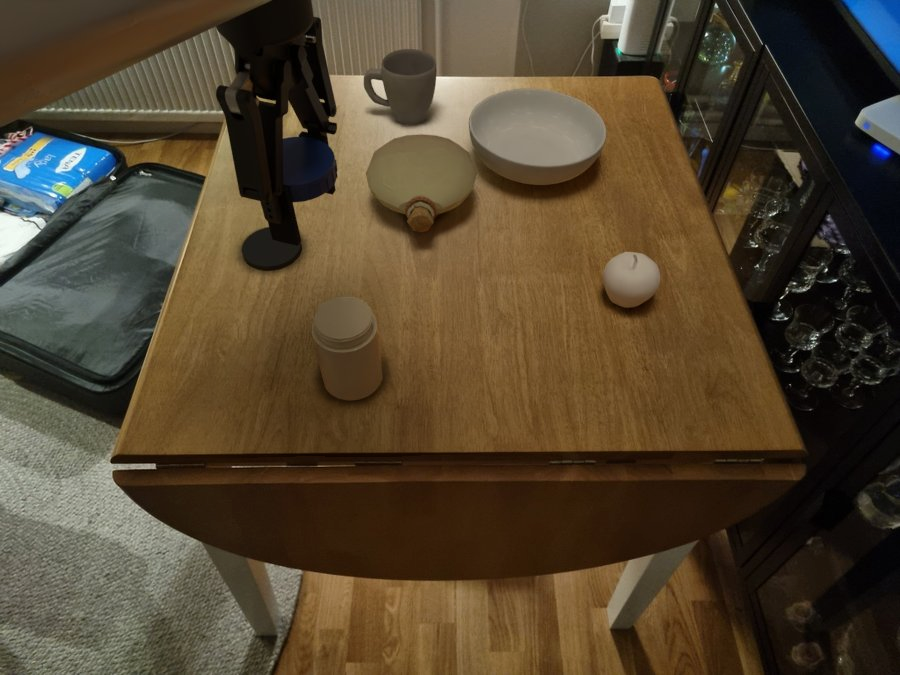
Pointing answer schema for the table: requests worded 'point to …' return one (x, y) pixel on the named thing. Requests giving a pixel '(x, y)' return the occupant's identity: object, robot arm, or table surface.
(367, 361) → the jar
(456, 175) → the flask
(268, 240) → the coaster
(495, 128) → the serving bowl
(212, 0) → the robot arm
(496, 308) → the table surface
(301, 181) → the jar lid
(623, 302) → the apple
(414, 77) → the mug
